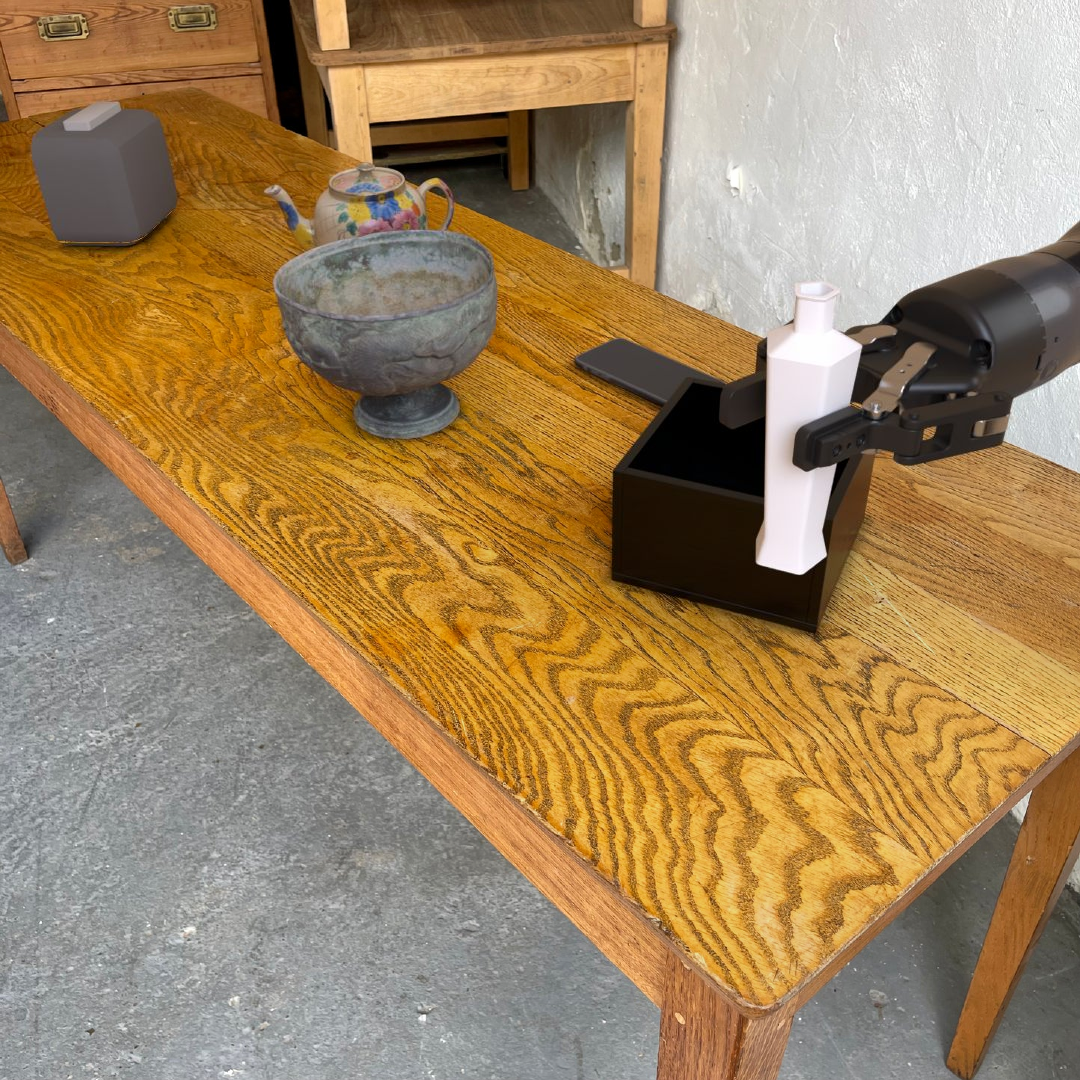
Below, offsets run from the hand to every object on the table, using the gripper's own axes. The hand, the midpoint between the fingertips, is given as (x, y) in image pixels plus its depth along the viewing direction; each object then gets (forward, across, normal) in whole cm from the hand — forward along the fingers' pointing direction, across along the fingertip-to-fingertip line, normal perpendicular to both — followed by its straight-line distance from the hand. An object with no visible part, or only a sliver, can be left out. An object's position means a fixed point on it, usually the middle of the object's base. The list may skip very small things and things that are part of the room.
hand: (762, 429), depth 53 cm
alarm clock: (0, -120, +24) cm, 123 cm away
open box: (-17, -17, +24) cm, 34 cm away
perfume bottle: (-3, 0, +9) cm, 9 cm away
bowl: (-5, -52, +24) cm, 58 cm away
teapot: (-20, -86, +24) cm, 91 cm away
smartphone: (-29, -44, +24) cm, 57 cm away
